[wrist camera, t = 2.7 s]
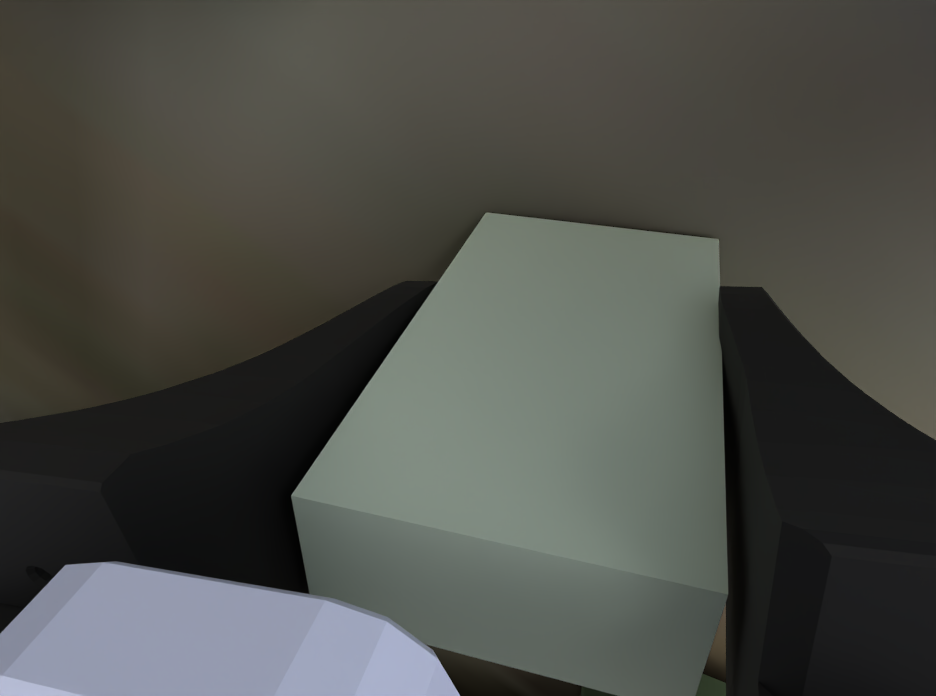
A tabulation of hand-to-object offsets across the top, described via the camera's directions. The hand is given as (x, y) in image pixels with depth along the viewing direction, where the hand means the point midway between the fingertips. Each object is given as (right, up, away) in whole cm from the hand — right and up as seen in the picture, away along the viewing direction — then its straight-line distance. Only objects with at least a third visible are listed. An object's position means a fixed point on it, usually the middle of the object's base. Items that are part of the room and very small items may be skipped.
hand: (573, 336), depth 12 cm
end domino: (+1, +1, +2) cm, 2 cm away
